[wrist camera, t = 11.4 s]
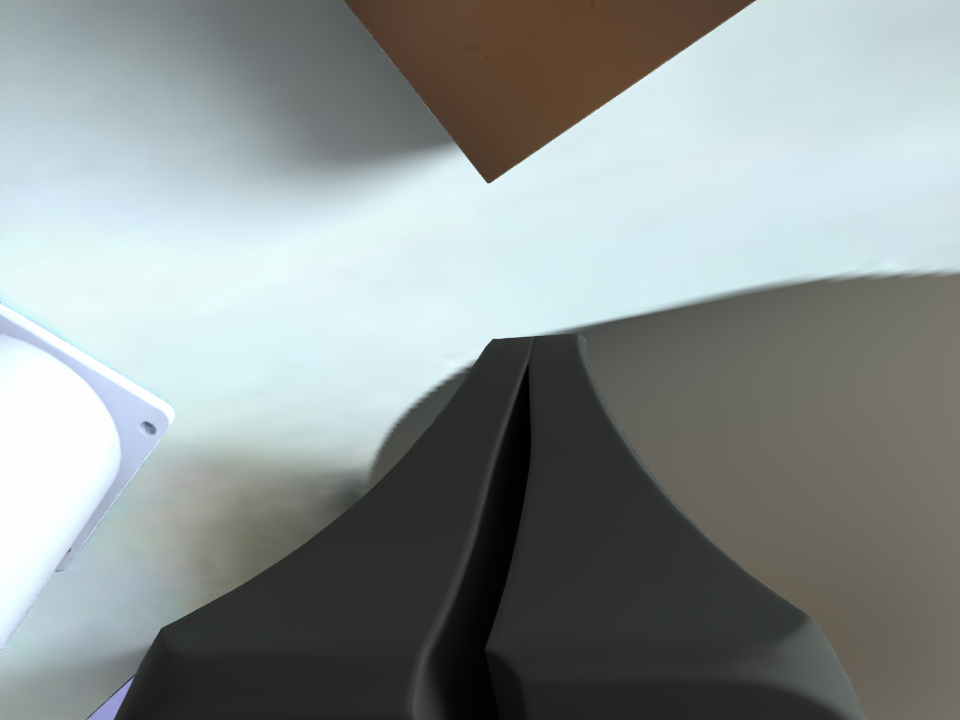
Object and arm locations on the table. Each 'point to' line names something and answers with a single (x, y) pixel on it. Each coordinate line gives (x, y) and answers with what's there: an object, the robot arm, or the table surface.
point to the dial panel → (529, 61)
